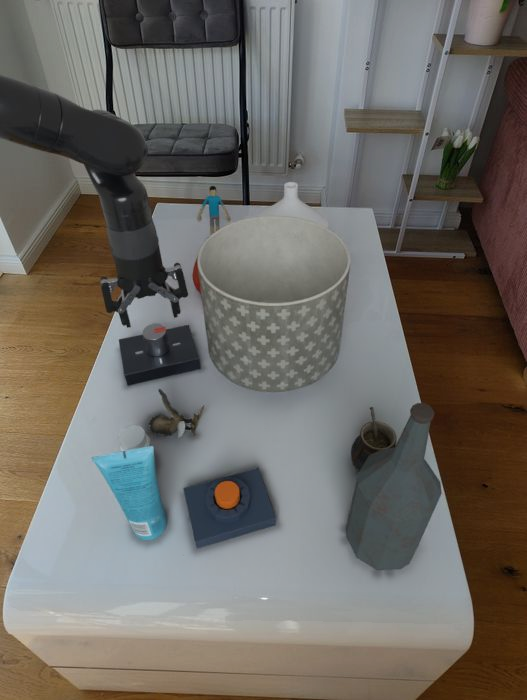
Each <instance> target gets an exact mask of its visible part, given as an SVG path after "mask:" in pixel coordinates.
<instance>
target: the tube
mask: <svg viewBox="0 0 527 700" xmlns="http://www.w3.org/2000/svg"><path fill="white" fill-rule="evenodd" d="M154 448H155V447H154V445H151V446H148V447H142V448H137V449H131V450H126V451H120V450H119V451H115V452H111V453H106V454H102V455H97V456H91V460H92V461H93V463H94V464H95V466H96V467H97V469H98V470H99V472H100V473H101V475H102V477H103V479H104V480H105V481H106V484H107V485H108V487H109V488H110V490H111V492H112V494H113V495H114V498H115V499H116V501H117V503H118V505H119V507H120V509H121V511H122V512H123V514H124V515H125V518H126V519H127V522H128V523H129V526H130V527H131V529H132V531H133V533H134V534H135V537H137V538H138V539H140V540H143V541H152V540H155V539H157V538H158V537H160V536H161V535H162V534H164V531H165V530H166V527H167V517H166V513H165V509H164V505H163V500H162V497H161V492H160V488H159V487H160V486H159V482H158V477H157V471H156V460H155V461H154V457H155V449H154Z"/></svg>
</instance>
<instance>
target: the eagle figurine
mask: <svg viewBox="0 0 527 700" xmlns="http://www.w3.org/2000/svg"><path fill="white" fill-rule="evenodd" d="M158 393H159V395H160V396H161V401H162V405H163V406H164V408H165V410H166V411H167V412H168V413H169V415H171V417H172V418H171V417H168V416H164V415H163V414H161V413H158V414H157V415H154V416H153V417H151V419H150V420H149V423H148V425H149V431H150V432H151V433H152V434H154V435H158V434H159V435H162V436H163V437H171V436H173V434H174V433H175V432H176V431H177V438H178V439H180V438H182V437H183V435H184V433H185V431H190V433H191V435H193V437H195V436H196V429H197V427H198V424H199V421H200V419H201V417H202V414H203V412H204V410H205V406H206V405H205V404H203V405H202V407H201V408H200V410H199V411H198V413H196V412H193V417H192V418H186V417H185V416H184V415H182V414H181V413H180V412H179V411H178V410H177V409H176V408H175V407H173V406H172V405H171V402H170V401H169V399H168V396H167V394H166V393H165V392H164V391H163V390H162V389H161V388H158ZM186 424H187V425H186Z"/></svg>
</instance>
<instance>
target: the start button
mask: <svg viewBox="0 0 527 700" xmlns="http://www.w3.org/2000/svg"><path fill="white" fill-rule="evenodd" d="M215 499H216V503H217V504H218V505H219V506H220V507H221V508H224V509H230V508H233V507H235V506H236V505H237V504H238V502H239V500H240V492H239V487H238V486H237V485H236V484H235V483H234V482H231V481H224V482H221V483H220V484H219V485H218V486H217V487H216V489H215Z"/></svg>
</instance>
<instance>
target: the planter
mask: <svg viewBox="0 0 527 700" xmlns="http://www.w3.org/2000/svg"><path fill="white" fill-rule="evenodd" d="M197 257H198V259H197V258H196V259H197V264H198V272H199V280H200V287H201V293H200V295H201V302H202V311H203V318H204V325H205V326H204V327H205V333H206V335H205V336H206V342H207V349H208V355H209V358H210V360H211V362H212V364H213V366H214V367H215V368H216V370H217V371H218V372H219V373H220V374H221V375H222V376H223V377H225V379H227V380H229V381H230V382H232V383H234V384H236V385H237V386H240V387H242V388H245V389H249V390H252V391H255V392H263V393H264V392H265V393H285V392H292V391H296V390H299V389H302V388H306V387H309V386H310V385H312V384H314V383H316V382H318V381H319V380H321V379H322V378H323V377H325V376H326V375H327V374H328V373H329V372H330V371H331V370H332V369H333V367H334V365H335V364H336V362H337V360H338V358H339V354H340V349H341V340H342V333H343V327H344V326H343V325H344V317H345V309H346V302H347V294H348V286H349V285H348V284H349V278H350V269H351V254H350V251H349V248H348V246H347V244H346V242H345V241H344V240H343V239H342V238H341V237H340V236H339V235H338V234H336V233H335V232H334V231H333V230H331V229H330V230H329V229H328V228H326V227H324V226H322V225H320V224H317V223H315V222H312V221H309V220H305V219H301V218H296V217H289V216H260V217H255V216H254V217H248V218H244V219H240V220H237V221H233V222H230V223H229V224H227V225H225V226H223V227H220V229H219V230H217V231H216V230H215V231H214V233H213V234H212V235H211V236H208V237H207V239H206V240H204V242H203V243H202V245H201V246H200V248H199V251H198V253H197Z"/></svg>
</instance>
